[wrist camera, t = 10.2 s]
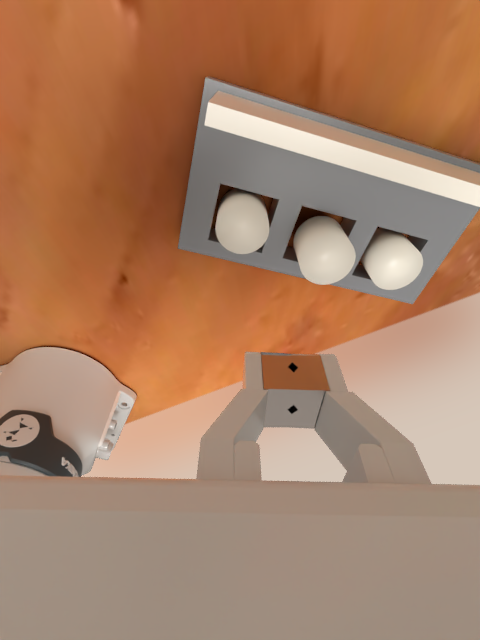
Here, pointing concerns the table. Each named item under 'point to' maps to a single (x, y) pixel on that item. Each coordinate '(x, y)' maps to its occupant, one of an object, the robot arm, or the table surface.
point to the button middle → (323, 250)
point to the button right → (391, 259)
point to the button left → (242, 221)
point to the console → (323, 183)
